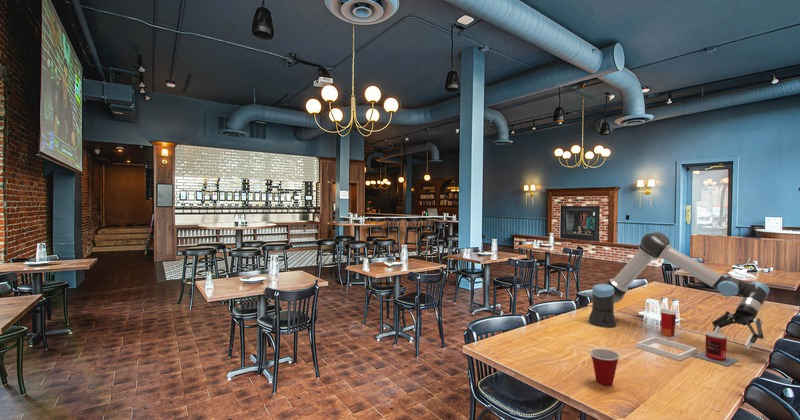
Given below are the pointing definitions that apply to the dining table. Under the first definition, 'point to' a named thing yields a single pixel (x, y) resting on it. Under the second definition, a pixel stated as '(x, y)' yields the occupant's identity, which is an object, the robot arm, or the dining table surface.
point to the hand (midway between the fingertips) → (729, 342)
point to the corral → (688, 351)
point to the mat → (726, 362)
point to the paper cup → (668, 321)
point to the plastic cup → (604, 365)
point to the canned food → (716, 346)
